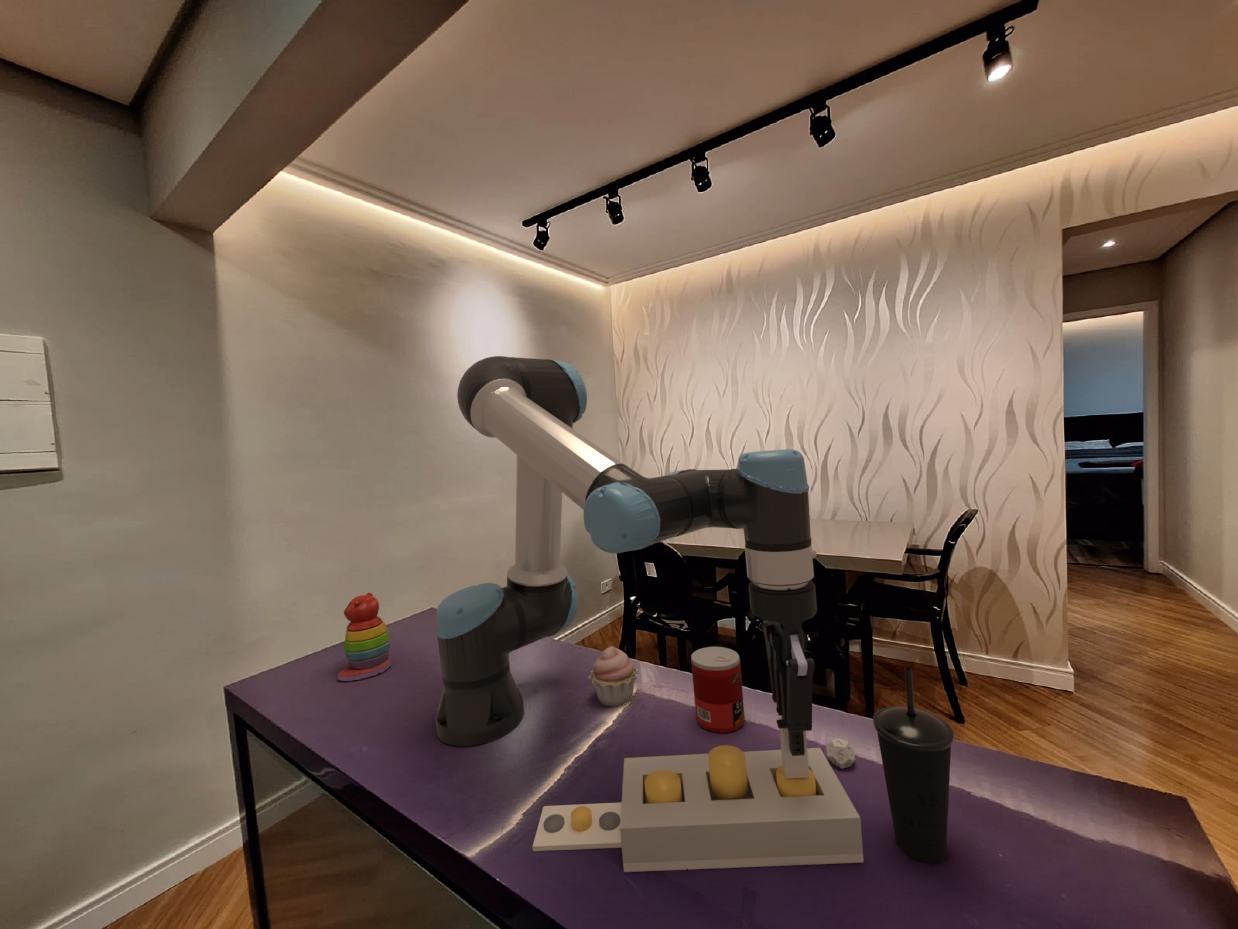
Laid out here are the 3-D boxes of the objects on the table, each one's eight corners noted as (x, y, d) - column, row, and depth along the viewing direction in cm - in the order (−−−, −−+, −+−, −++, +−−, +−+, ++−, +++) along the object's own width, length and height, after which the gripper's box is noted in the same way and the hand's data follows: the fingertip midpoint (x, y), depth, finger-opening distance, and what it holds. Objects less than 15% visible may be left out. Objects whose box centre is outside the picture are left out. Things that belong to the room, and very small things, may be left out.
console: (623, 872, 54) (619, 828, 54) (627, 794, 66) (624, 758, 66) (863, 862, 52) (860, 817, 52) (822, 784, 64) (820, 747, 64)
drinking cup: (866, 823, 57) (855, 658, 57) (927, 813, 58) (916, 650, 57) (910, 880, 50) (898, 690, 49) (980, 868, 50) (968, 680, 50)
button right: (784, 822, 57) (782, 789, 56) (774, 795, 61) (772, 764, 61) (823, 820, 56) (820, 787, 56) (810, 793, 61) (807, 762, 60)
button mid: (713, 803, 57) (710, 769, 57) (708, 777, 61) (706, 746, 61) (751, 801, 57) (748, 767, 56) (743, 775, 61) (741, 744, 61)
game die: (839, 775, 66) (837, 753, 66) (821, 758, 70) (820, 738, 69) (861, 769, 67) (859, 747, 67) (843, 752, 70) (841, 732, 70)
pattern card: (533, 851, 58) (531, 836, 58) (544, 810, 64) (542, 797, 64) (625, 847, 57) (623, 832, 57) (627, 806, 63) (625, 793, 63)
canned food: (746, 735, 76) (740, 666, 76) (695, 733, 78) (689, 666, 78) (743, 708, 84) (738, 646, 83) (697, 707, 85) (691, 646, 85)
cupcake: (630, 715, 85) (625, 659, 84) (582, 709, 88) (577, 655, 88) (647, 688, 93) (643, 637, 93) (603, 683, 97) (598, 634, 97)
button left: (647, 828, 57) (644, 796, 57) (647, 801, 62) (644, 771, 62) (684, 827, 57) (682, 794, 57) (681, 799, 62) (679, 769, 61)
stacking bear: (364, 660, 119) (356, 589, 118) (402, 659, 118) (394, 587, 117) (332, 682, 108) (323, 604, 108) (374, 681, 107) (365, 602, 106)
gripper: (834, 595, 51) (850, 813, 52) (795, 564, 64) (809, 739, 65) (762, 600, 51) (779, 817, 52) (738, 568, 64) (752, 742, 65)
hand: (795, 773), depth 58 cm, fingers closed
